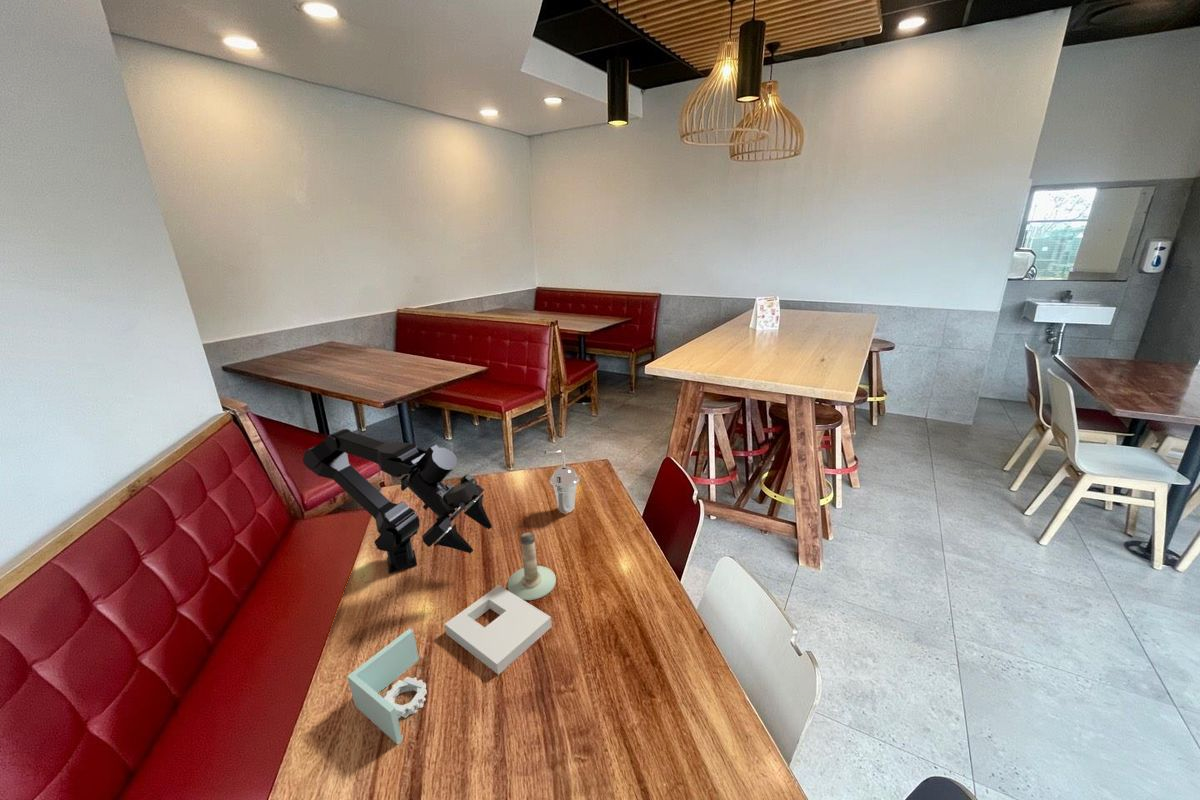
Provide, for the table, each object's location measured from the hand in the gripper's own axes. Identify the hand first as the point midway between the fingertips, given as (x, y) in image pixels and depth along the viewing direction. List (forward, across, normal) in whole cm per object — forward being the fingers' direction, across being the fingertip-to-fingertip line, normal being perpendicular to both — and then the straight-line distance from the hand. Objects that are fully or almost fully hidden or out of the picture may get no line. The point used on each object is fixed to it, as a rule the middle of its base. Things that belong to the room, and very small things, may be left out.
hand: (481, 539), depth 107 cm
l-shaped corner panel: (+8, -31, +8) cm, 33 cm away
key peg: (+15, +1, -1) cm, 15 cm away
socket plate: (+15, -14, +1) cm, 20 cm away
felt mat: (+15, +1, 0) cm, 15 cm away
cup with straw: (+14, +32, +1) cm, 35 cm away
